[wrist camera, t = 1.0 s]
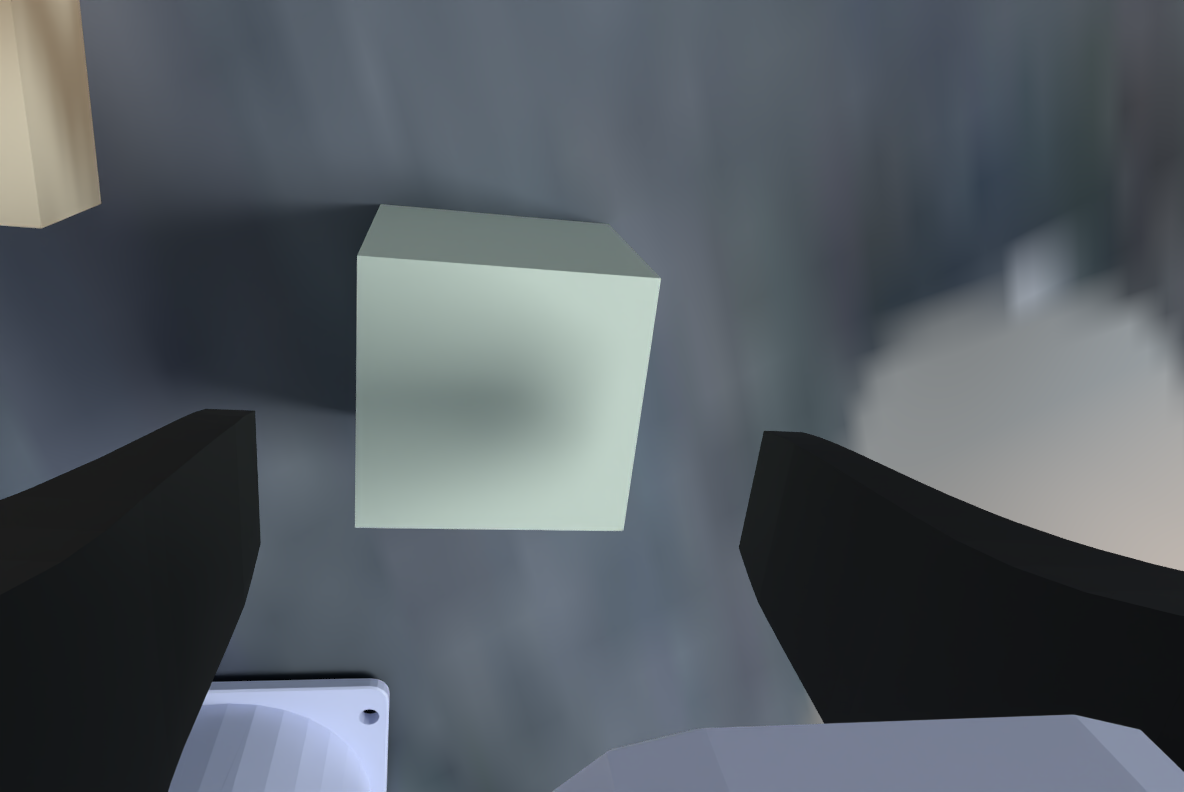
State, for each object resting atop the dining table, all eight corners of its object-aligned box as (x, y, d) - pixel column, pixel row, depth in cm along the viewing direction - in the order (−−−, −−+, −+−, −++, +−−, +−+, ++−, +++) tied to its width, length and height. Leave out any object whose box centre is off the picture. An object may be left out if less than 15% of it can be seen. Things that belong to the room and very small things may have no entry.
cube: (583, 424, 20) (623, 530, 16) (377, 415, 19) (355, 527, 15) (607, 223, 18) (661, 278, 14) (380, 203, 17) (357, 255, 13)
